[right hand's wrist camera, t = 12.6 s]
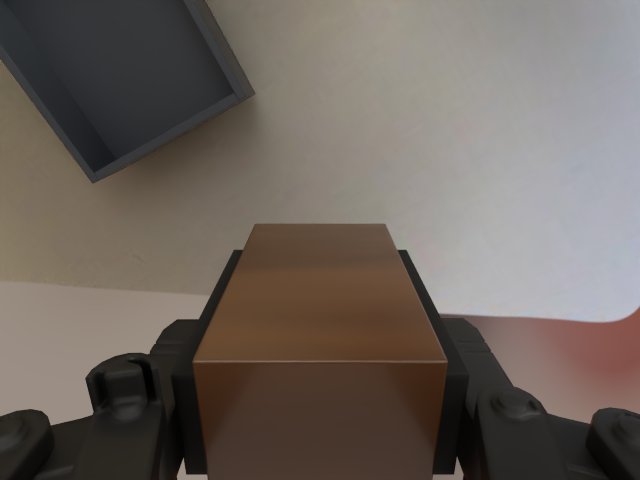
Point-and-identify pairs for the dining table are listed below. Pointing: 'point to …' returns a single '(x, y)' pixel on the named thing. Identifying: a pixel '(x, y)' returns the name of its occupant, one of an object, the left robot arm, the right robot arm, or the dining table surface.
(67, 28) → the grey tray
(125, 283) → the dining table surface
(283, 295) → the walnut block
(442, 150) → the dining table surface
